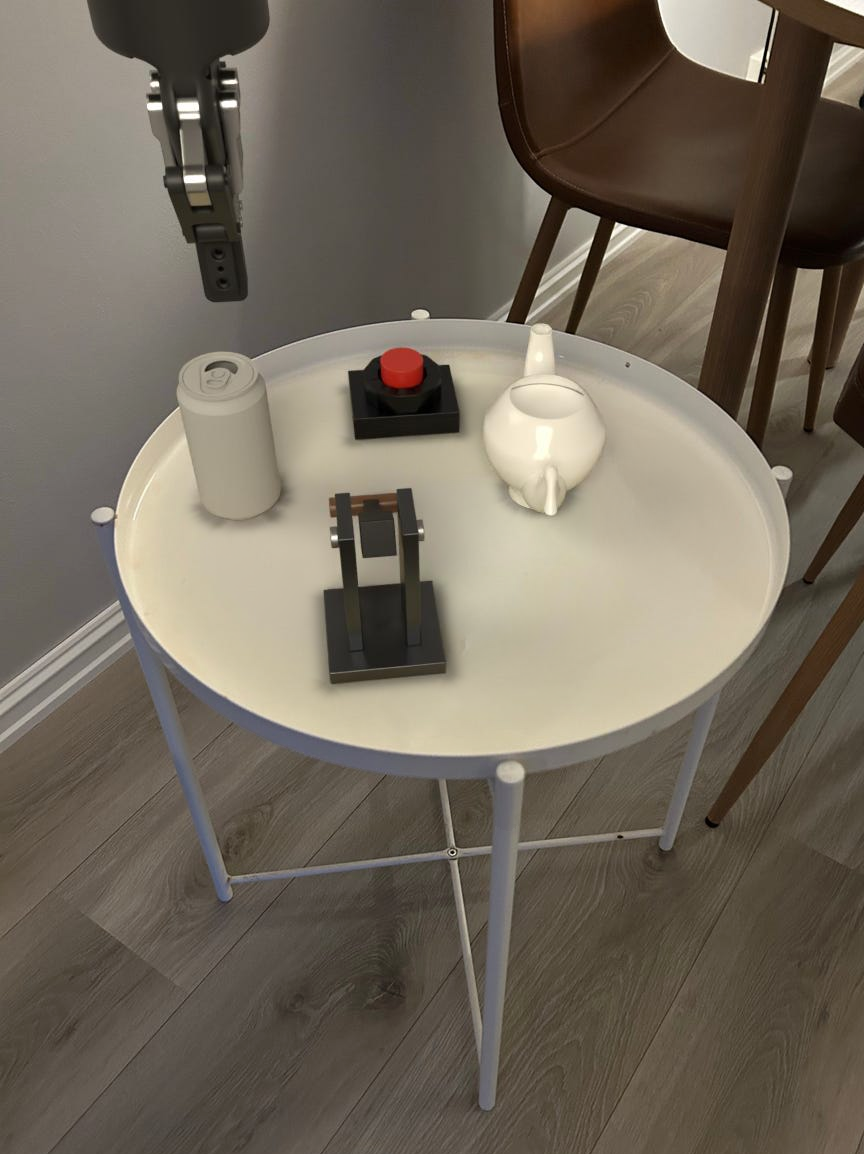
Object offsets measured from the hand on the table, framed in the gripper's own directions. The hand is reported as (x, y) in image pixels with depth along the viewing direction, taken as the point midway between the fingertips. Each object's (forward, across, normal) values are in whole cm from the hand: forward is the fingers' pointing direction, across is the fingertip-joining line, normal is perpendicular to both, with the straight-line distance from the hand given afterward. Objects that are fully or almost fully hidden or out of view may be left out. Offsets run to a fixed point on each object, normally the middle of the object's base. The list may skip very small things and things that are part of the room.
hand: (227, 294), depth 56 cm
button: (+23, -25, +11) cm, 36 cm away
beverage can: (+27, -15, -3) cm, 31 cm away
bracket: (+27, +1, +7) cm, 28 cm away
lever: (+20, -2, +7) cm, 21 cm away
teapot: (+27, -13, +21) cm, 37 cm away
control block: (+27, -25, +11) cm, 38 cm away
